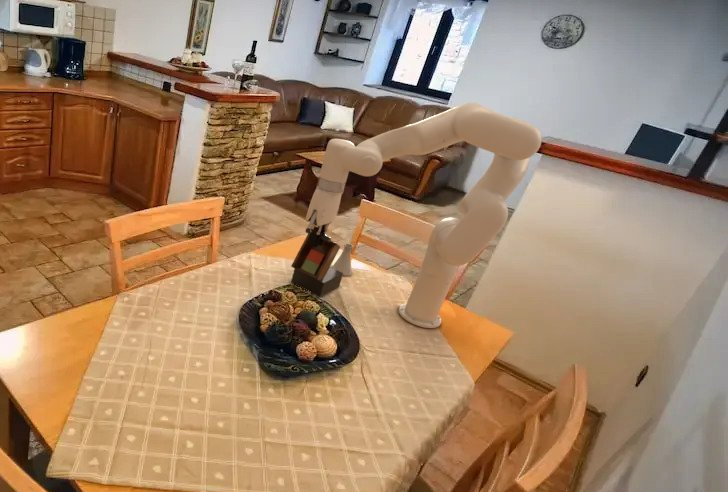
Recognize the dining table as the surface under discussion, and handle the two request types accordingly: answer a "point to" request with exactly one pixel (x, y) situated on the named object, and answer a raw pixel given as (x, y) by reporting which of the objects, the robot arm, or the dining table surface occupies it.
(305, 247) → the basket
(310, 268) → the block
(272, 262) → the dining table surface
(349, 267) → the flask
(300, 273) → the stand
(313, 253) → the terracotta packet
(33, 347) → the dining table surface
